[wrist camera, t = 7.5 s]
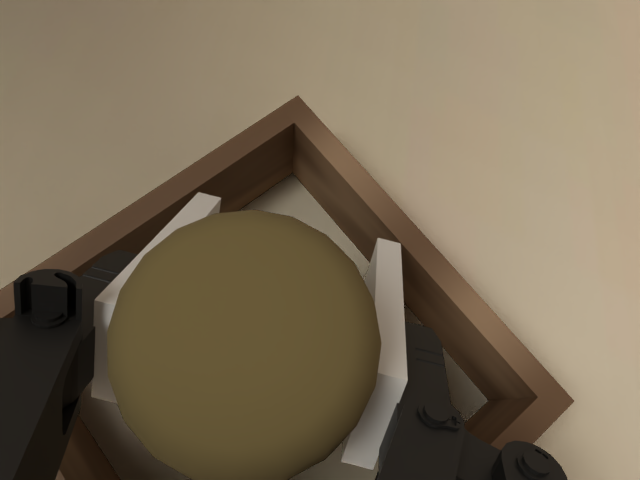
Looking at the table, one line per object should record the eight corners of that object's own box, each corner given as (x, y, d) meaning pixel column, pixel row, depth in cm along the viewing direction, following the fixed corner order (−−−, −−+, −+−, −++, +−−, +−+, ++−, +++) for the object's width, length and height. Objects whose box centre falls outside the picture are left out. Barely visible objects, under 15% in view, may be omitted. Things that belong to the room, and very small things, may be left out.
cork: (148, 352, 19) (-15, 279, 8) (286, 263, 20) (291, 107, 10) (237, 501, 18) (172, 632, 7) (377, 395, 19) (495, 375, 9)
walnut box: (5, 348, 19) (-64, 331, 15) (295, 149, 22) (297, 95, 19) (224, 691, 16) (206, 776, 12) (518, 403, 20) (574, 401, 16)
